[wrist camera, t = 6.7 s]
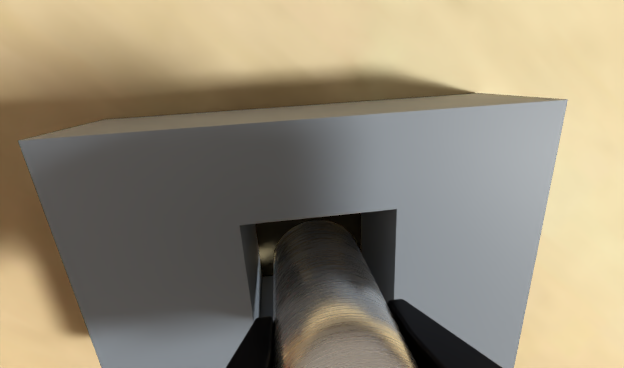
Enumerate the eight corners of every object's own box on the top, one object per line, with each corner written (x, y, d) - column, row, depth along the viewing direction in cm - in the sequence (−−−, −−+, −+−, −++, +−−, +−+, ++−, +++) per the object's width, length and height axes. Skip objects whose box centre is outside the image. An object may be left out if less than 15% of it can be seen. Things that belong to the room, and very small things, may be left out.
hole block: (164, 339, 14) (125, 432, 11) (104, 119, 11) (17, 140, 7) (455, 301, 16) (512, 372, 12) (478, 93, 12) (567, 99, 9)
